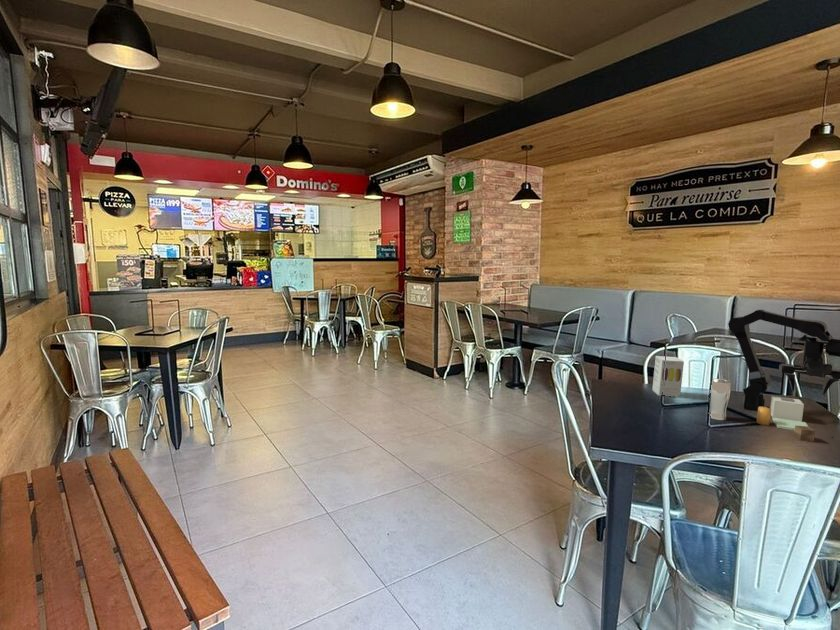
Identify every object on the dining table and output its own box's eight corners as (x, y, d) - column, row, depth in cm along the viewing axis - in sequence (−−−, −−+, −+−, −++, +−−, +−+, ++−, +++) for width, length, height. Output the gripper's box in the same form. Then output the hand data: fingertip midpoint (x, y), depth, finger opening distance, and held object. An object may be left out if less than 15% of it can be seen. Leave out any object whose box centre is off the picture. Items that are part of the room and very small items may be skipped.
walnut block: (800, 440, 159) (801, 429, 158) (793, 436, 163) (795, 425, 162) (813, 441, 158) (814, 430, 157) (806, 437, 162) (808, 426, 161)
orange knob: (757, 423, 174) (759, 408, 173) (755, 420, 177) (757, 405, 177) (770, 425, 172) (772, 410, 171) (768, 422, 175) (770, 407, 175)
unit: (772, 417, 181) (774, 399, 180) (769, 412, 187) (771, 394, 186) (802, 422, 176) (805, 403, 175) (798, 416, 182) (800, 398, 181)
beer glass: (725, 416, 182) (729, 379, 180) (729, 421, 175) (733, 384, 173) (705, 413, 185) (709, 377, 183) (708, 419, 178) (711, 381, 176)
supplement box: (658, 396, 207) (661, 359, 204) (651, 390, 216) (654, 355, 213) (681, 397, 205) (684, 360, 203) (673, 391, 214) (676, 356, 212)
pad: (777, 427, 170) (777, 425, 170) (772, 419, 179) (772, 417, 179) (811, 433, 165) (812, 431, 165) (804, 424, 174) (805, 422, 174)
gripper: (787, 354, 173) (782, 394, 175) (852, 360, 164) (846, 402, 166) (781, 349, 182) (776, 387, 184) (842, 354, 174) (836, 394, 176)
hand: (807, 392), depth 177 cm, fingers open, 9 cm apart
